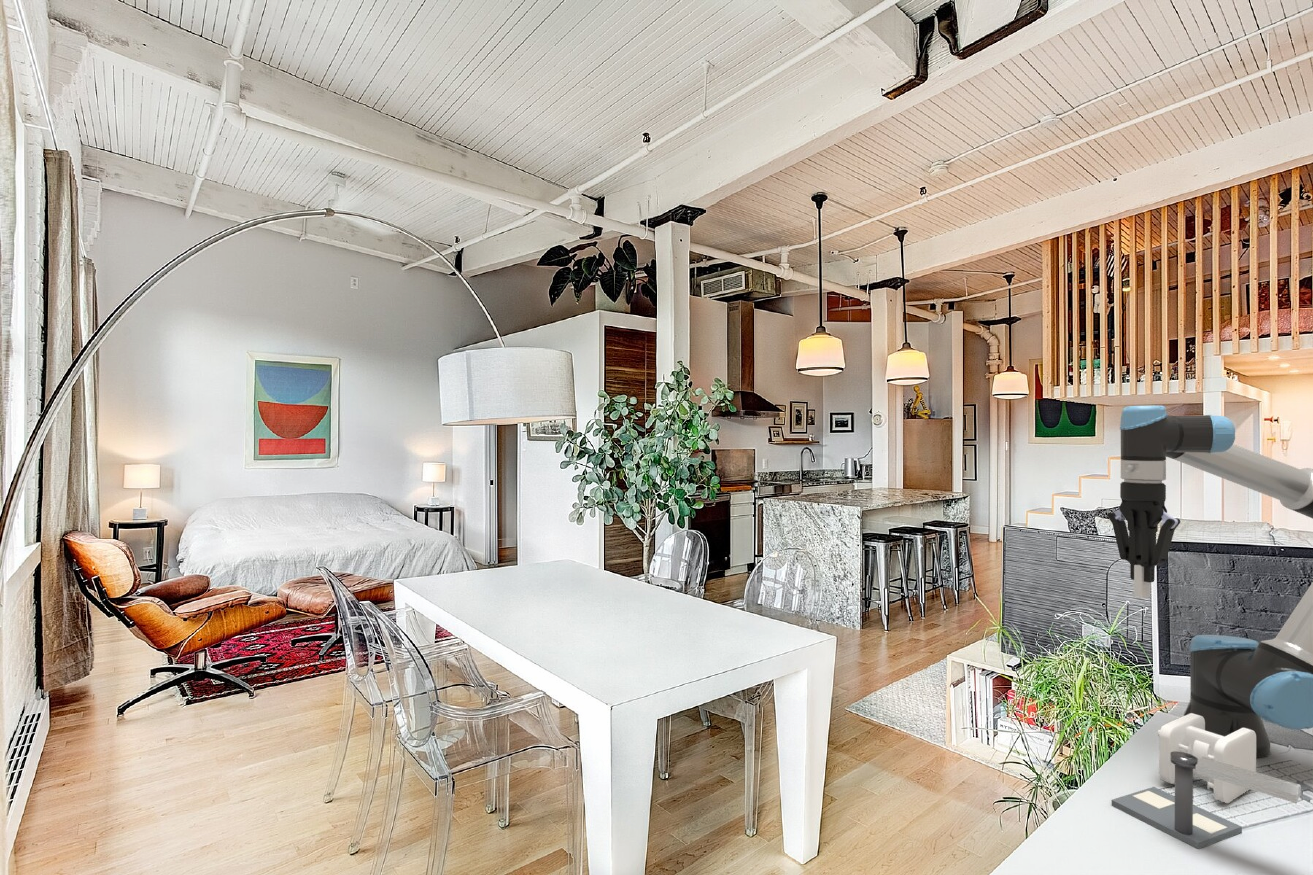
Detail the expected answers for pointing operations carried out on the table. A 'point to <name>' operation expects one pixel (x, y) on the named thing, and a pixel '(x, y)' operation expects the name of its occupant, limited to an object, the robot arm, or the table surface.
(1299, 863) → the table surface
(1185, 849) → the table surface
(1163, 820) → the label board
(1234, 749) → the cable organizer
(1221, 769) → the grey lever handle
